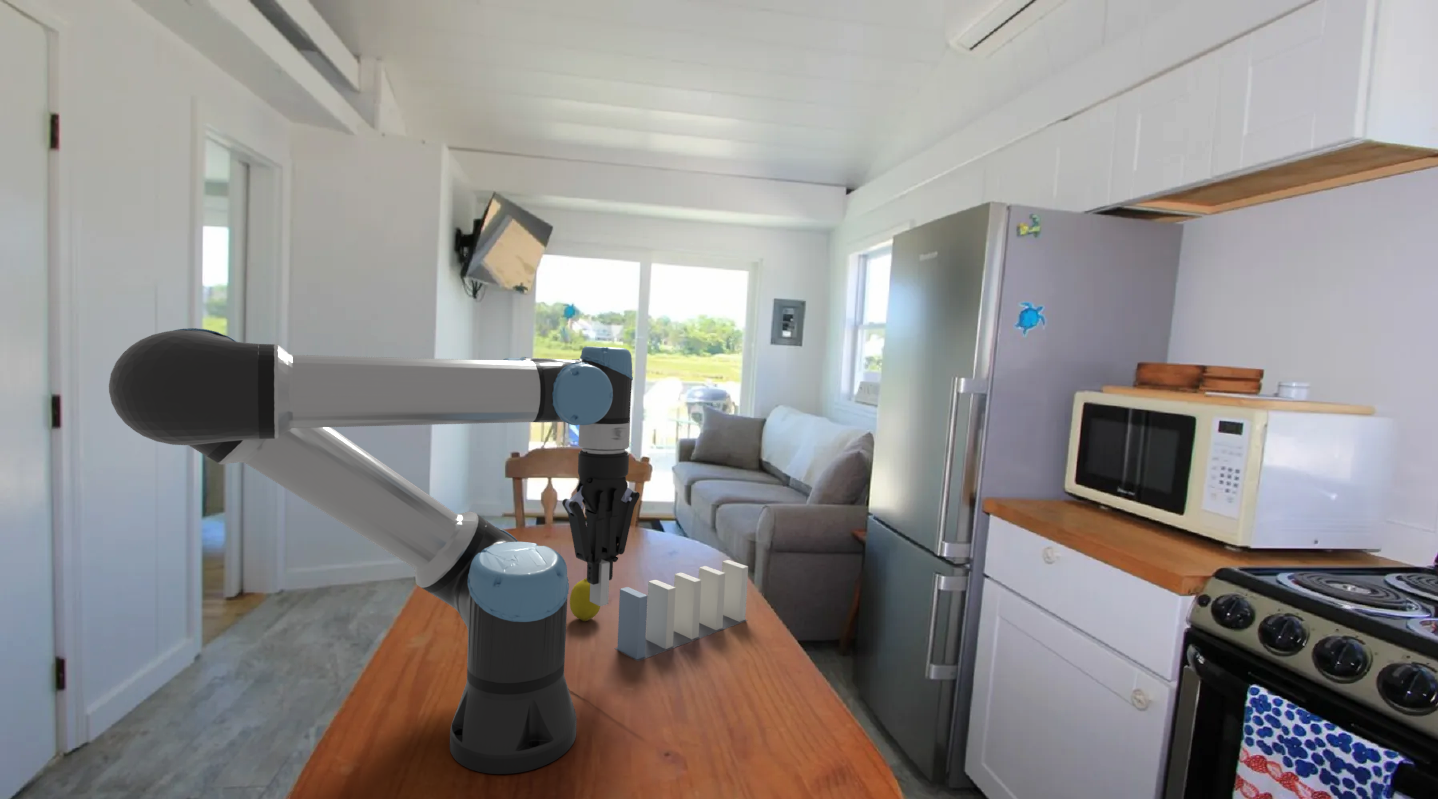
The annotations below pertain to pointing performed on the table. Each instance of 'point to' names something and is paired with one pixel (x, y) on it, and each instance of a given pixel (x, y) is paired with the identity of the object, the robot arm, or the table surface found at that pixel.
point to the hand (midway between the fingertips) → (598, 602)
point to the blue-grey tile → (632, 622)
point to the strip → (684, 638)
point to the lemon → (582, 601)
